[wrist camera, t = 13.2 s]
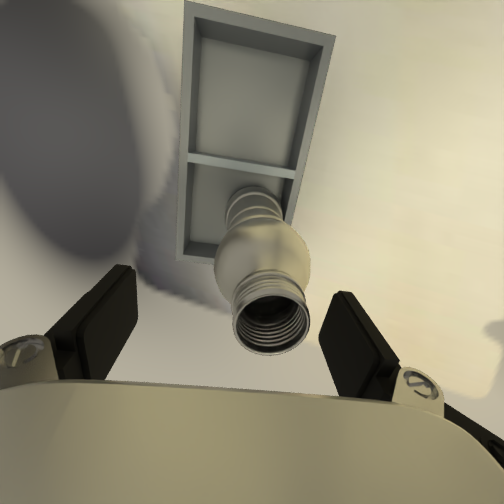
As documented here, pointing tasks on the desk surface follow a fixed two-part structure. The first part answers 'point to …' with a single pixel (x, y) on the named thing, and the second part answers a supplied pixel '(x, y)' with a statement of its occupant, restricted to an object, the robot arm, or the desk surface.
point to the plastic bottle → (263, 273)
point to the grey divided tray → (242, 117)
